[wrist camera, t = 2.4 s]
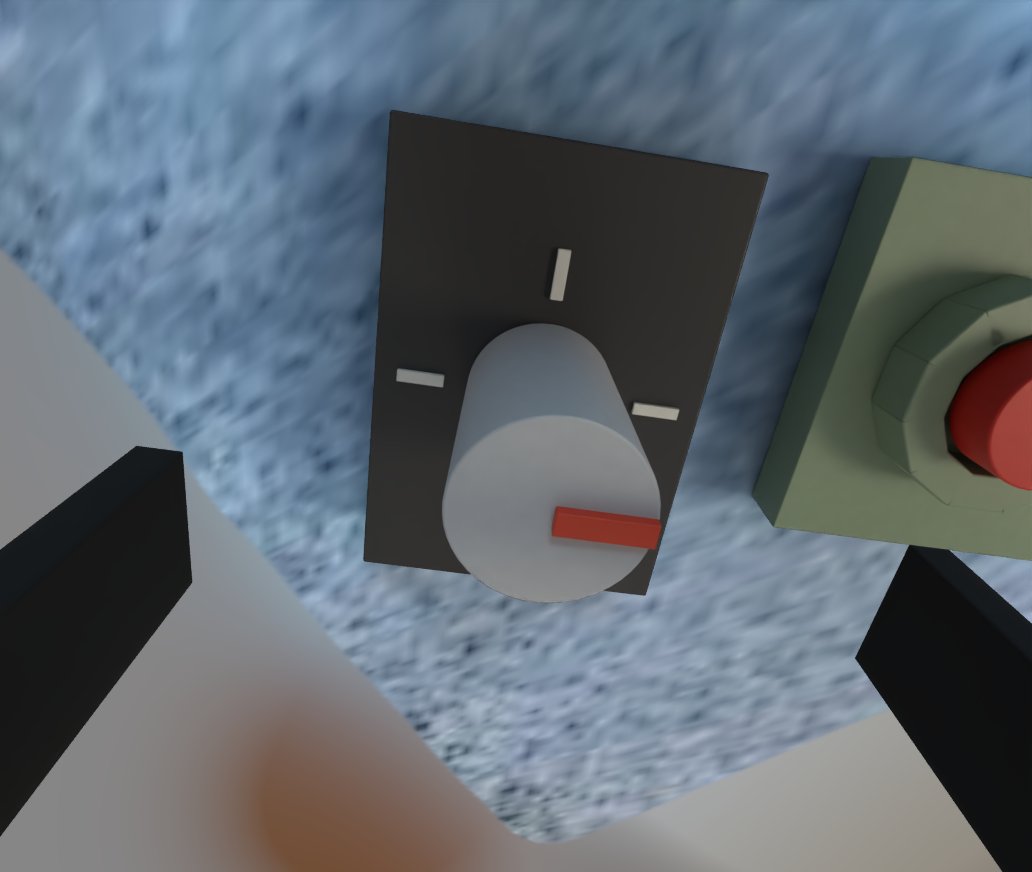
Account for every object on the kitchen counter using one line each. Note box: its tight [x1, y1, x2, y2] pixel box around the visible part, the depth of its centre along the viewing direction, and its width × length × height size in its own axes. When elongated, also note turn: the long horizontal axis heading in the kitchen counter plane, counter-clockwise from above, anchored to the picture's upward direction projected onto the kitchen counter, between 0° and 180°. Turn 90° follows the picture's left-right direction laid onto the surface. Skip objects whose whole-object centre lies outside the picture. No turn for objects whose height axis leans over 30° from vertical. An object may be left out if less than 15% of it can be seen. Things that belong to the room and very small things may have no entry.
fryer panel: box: [363, 110, 768, 596], centre depth 20 cm, size 14×10×3 cm
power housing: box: [752, 157, 1032, 561], centre depth 20 cm, size 12×10×4 cm
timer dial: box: [442, 323, 662, 603], centre depth 16 cm, size 4×4×7 cm
